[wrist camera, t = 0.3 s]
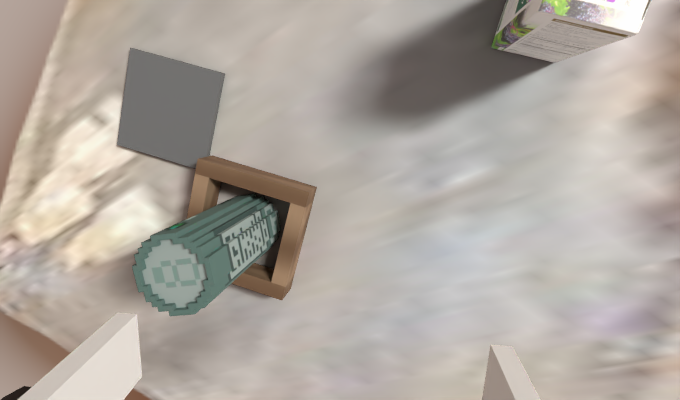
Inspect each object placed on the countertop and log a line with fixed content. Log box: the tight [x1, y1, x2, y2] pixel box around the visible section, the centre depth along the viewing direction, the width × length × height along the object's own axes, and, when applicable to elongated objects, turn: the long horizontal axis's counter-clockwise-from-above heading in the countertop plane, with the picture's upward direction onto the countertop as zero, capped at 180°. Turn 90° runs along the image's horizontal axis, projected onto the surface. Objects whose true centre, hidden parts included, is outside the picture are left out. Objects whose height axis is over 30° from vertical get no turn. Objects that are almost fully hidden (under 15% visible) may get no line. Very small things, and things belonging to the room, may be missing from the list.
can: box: [132, 194, 281, 316], centre depth 38 cm, size 6×6×15 cm
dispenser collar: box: [187, 156, 317, 300], centre depth 44 cm, size 11×11×3 cm
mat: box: [117, 48, 225, 169], centre depth 44 cm, size 10×10×1 cm
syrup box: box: [491, 0, 652, 62], centre depth 30 cm, size 6×6×14 cm
